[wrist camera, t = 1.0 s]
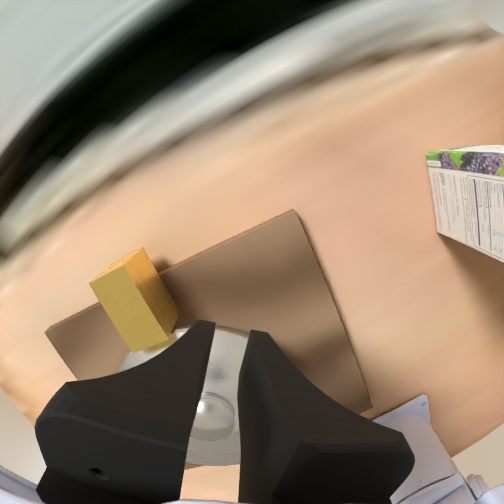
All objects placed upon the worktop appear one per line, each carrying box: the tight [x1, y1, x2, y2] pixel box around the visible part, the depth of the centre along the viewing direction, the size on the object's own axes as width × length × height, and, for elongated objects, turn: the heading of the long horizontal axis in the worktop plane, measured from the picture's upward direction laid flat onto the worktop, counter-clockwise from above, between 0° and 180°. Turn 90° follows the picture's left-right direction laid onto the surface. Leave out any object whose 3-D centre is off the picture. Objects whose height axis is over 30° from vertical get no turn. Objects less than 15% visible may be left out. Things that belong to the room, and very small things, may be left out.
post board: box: [44, 209, 373, 469], centre depth 20 cm, size 17×20×5 cm
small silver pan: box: [89, 247, 249, 466], centre depth 19 cm, size 16×12×4 cm
